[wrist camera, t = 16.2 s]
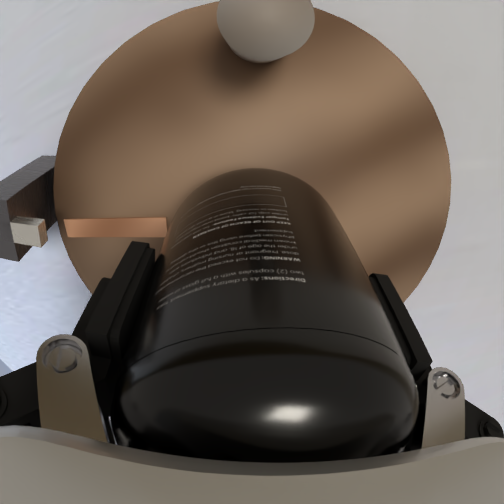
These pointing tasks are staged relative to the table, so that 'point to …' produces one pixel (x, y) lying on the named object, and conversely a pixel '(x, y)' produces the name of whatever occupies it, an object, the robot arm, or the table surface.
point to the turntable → (253, 133)
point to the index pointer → (27, 208)
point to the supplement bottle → (262, 335)
